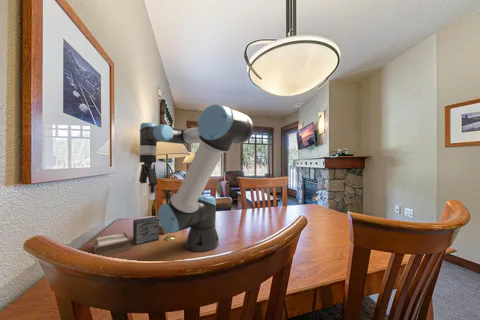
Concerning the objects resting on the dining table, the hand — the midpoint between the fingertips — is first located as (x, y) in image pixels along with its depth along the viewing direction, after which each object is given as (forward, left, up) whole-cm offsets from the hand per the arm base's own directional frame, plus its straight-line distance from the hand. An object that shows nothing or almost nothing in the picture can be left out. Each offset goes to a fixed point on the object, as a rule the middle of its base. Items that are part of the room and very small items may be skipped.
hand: (147, 197), depth 94 cm
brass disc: (-6, -10, -21) cm, 24 cm away
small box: (-1, 0, -21) cm, 21 cm away
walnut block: (+4, -11, -21) cm, 24 cm away
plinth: (-1, +14, -21) cm, 25 cm away
